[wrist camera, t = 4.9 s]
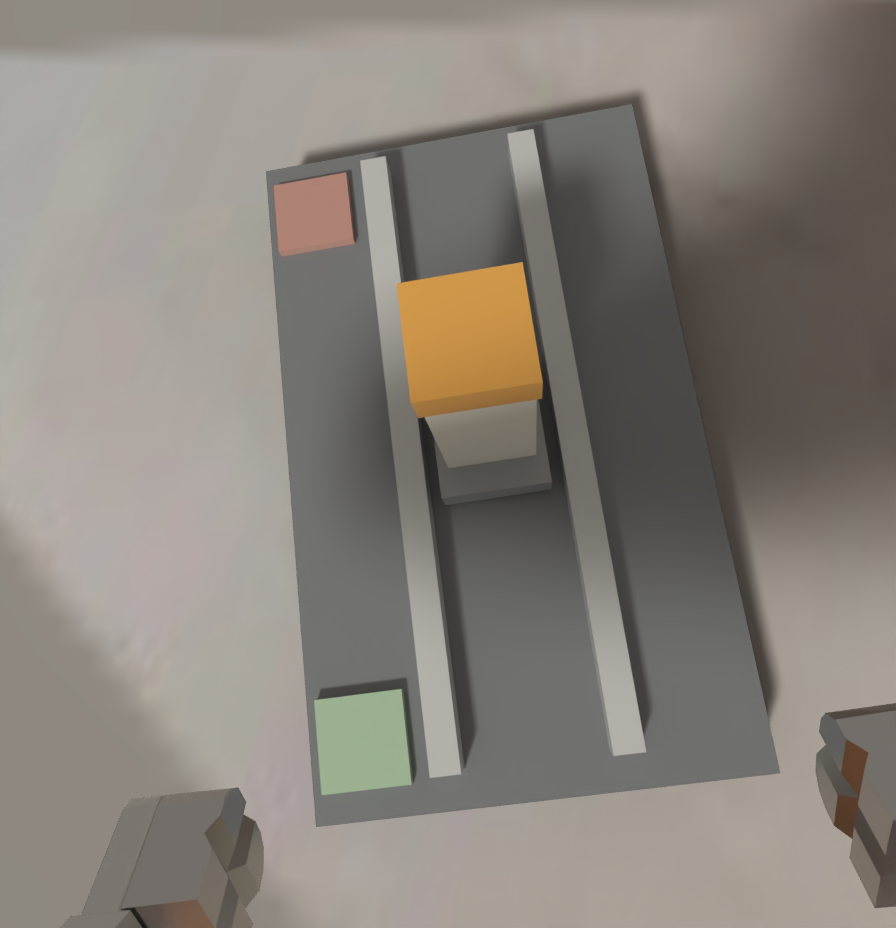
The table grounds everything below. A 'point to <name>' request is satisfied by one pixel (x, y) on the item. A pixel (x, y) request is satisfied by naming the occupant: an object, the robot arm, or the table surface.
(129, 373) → the table surface
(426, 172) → the switch panel
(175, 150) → the table surface
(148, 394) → the table surface
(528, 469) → the breaker lever
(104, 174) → the table surface
